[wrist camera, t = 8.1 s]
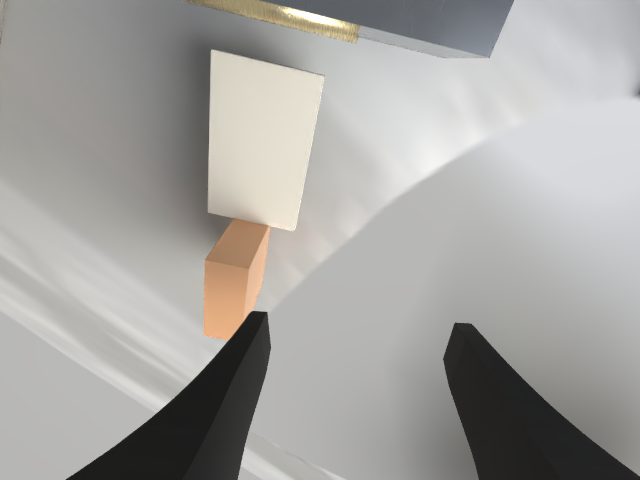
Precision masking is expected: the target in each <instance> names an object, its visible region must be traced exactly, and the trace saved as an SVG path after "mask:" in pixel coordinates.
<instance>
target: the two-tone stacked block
mask: <svg viewBox="0 0 640 480" xmlns="http://www.w3.org/2000/svg"><path fill="white" fill-rule="evenodd" d="M324 78H325V75H321V74H316V73H312V72H308V71H304V70H300V69H296V68H292V67H287V66H283V65H279V64H275V63H271V62H267V61H263V60H258V59H254V58H250V57H246V56H242V55H238V54H233V53H229V52H225V51H221V50H215V49H211V72H210V120H209V167H208V213H212V214H217V215H221V216H226V217H230V218H234V219H233V220H232V222H231V223H230V225H229V226H228V227H227V229H226V230H225V232H224V233H223V235H222V236H221V238H220V239H219V240H218V242H217V243H216V245H215V246H214V248H213V249H212V251H211V252H210V253H209V255H208V256H207V258H206V259H205V288H204V336H209V337H214V338H219V339H224V340H229V339H230V338H231V337H232V336H233V334H234V333H235V332H236V331H237V329H238V328H239V327H240V325H241V324H242V323H243V321H244V320H245V319H246V317H247V316H248V314H249V313H250V312H251V311H253V308H254V305H255V303H256V300H257V297H258V294H259V292H260V289H261V286H262V283H263V276H264V269H265V262H266V255H267V248H268V241H269V234H270V227H271V226H272V227H277V228H281V229H286V230H291V231H295V228H296V224H297V219H298V214H299V208H300V203H301V198H302V193H303V188H304V182H305V177H306V172H307V167H308V162H309V156H310V151H311V146H312V141H313V136H314V130H315V125H316V120H317V115H318V109H319V104H320V99H321V94H322V89H323V83H324Z"/></svg>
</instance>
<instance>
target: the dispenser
mask: <svg viewBox="0 0 640 480" xmlns="http://www.w3.org/2000/svg"><path fill="white" fill-rule="evenodd" d="M181 1H185V2H189V3H193V4H197V5H201V6H205V7H209V8H214V9H218V10H222V11H226V12H230V13H234V14H238V15H242V16H246V17H250V18H254V19H258V20H262V21H266V22H270V23H274V24H278V25H282V26H286V27H290V28H294V29H299V30H303V31H307V32H311V33H315V34H319V35H323V36H327V37H331V38H335V39H339V40H343V41H347V42H351V43H355V44H356V42H357V38H358V37H362V38H366V39H370V40H374V41H378V42H382V43H386V44H390V45H394V46H398V47H402V48H406V49H410V50H414V51H419V52H423V53H427V54H431V55H435V56H439V57H443V58H490V55H491V53H492V51H493V48H494V46H495V44H496V41H497V39H498V37H499V34H500V32H501V30H502V27H503V25H504V23H505V20H506V18H507V16H508V13H509V11H510V8H511V6H512V4H513V1H514V0H181Z"/></svg>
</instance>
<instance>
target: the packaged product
mask: <svg viewBox="0 0 640 480" xmlns="http://www.w3.org/2000/svg"><path fill="white" fill-rule="evenodd" d="M5 5H6V0H0V43H1V35H2V28H3V20H4V12H5Z"/></svg>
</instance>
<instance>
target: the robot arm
mask: <svg viewBox="0 0 640 480" xmlns="http://www.w3.org/2000/svg"><path fill="white" fill-rule="evenodd" d="M270 350H271V344H270V334H269V325H268V315H267V312H260V311H251V312H250V313H249V314H248V316H247V317H246V319H245V320H244V321H243V323H242V324H241V325H240V327H239V328H238V329H237V331H236V332H235V333H234V334H233V336H232V337H231V338H230V339H229V341H228V342H227V343H226V344H225V345H224V347H223V348H222V349H221V350H220V351H219V353H218V354H217V355H216V356H215V357H214V358H213V359H212V360H211V362H210V363H209V364H208V365H207V366H206V367H205V368H204V369H203V370H202V371H201V372H200V373H199V375H198V376H197V377H196V378H195V379H194V380H193V381H192V382H191V383H190V384H189V385H188V386H187V387H185V388H184V389H183V390H182V391H181V392H180V393H179V394H178V395H177V396H176V397H175V398H174V399H173V400H171V401H170V402H169V403H168V404H167V405H166V406H165V407H163V408H162V409H161V410H160V411H159V412H158V413H157V414H155V415H154V416H153V417H152V418H151V419H149V420H148V421H147V422H146V423H144V424H143V425H142V426H141V427H139V428H138V429H137V430H135V431H134V432H133V433H131V434H130V435H129V436H127V437H126V438H125V439H123V440H122V441H121V442H120V443H118V444H117V445H116V446H115V447H113V448H111V449H110V450H109V451H107V452H106V453H104V454H103V455H102V456H100V457H98V458H97V459H96V460H94V461H93V462H91V463H90V464H88V465H87V466H85V467H84V468H82V469H81V470H80V471H78V472H77V473H75V474H74V475H72V476H70V477H69V478H67V479H66V480H238V475H239V470H240V465H241V461H242V456H243V451H244V447H245V442H246V439H247V435H248V431H249V428H250V425H251V421H252V418H253V415H254V412H255V408H256V405H257V402H258V398H259V395H260V392H261V389H262V385H263V382H264V379H265V375H266V371H267V366H268V361H269V355H270ZM443 360H444V365H445V370H446V375H447V379H448V384H449V387H450V391H451V394H452V396H453V399H454V402H455V405H456V408H457V411H458V414H459V417H460V420H461V423H462V425H463V428H464V431H465V434H466V437H467V440H468V443H469V446H470V449H471V452H472V455H473V458H474V462H475V465H476V469H477V473H478V477H479V480H640V476H638V475H637V474H636V473H634V472H633V471H631V470H630V469H629V468H627V467H626V466H625V465H623V464H622V463H621V462H619V461H618V460H617V459H615V458H614V457H612V456H611V455H610V454H609V453H608V452H606V451H605V450H604V449H602V448H601V447H600V446H598V445H597V444H596V443H595V442H593V441H592V440H591V439H589V438H588V437H587V436H586V435H585V434H583V433H582V432H581V431H580V430H579V429H577V428H576V427H575V426H574V425H572V423H570V422H569V421H568V420H567V419H566V418H564V417H563V416H562V415H561V414H560V413H559V412H557V411H556V410H555V409H554V408H553V407H552V406H551V405H550V404H548V402H546V401H545V400H544V399H543V398H542V397H541V396H540V395H539V394H538V393H537V392H536V391H535V390H534V389H533V388H532V387H531V386H530V385H529V384H528V383H527V382H526V381H524V379H522V377H521V376H520V375H519V374H517V372H516V371H515V370H514V369H513V368H512V367H511V366H510V365H509V364H508V363H507V362H506V361H505V360H504V359H503V358H502V357H501V356H500V354H498V353H497V351H496V350H495V349H494V348H493V347H492V346H491V345H490V344H489V343H488V342H487V340H486V339H485V338H484V337H483V336H482V335H481V334H480V333H479V332H478V330H477V329H476V328H475V327H474V326H473V325H472V324H469V323H455V324H454V327H453V330H452V333H451V336H450V339H449V342H448V346H447V349H446V352H445V355H444V358H443Z"/></svg>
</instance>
